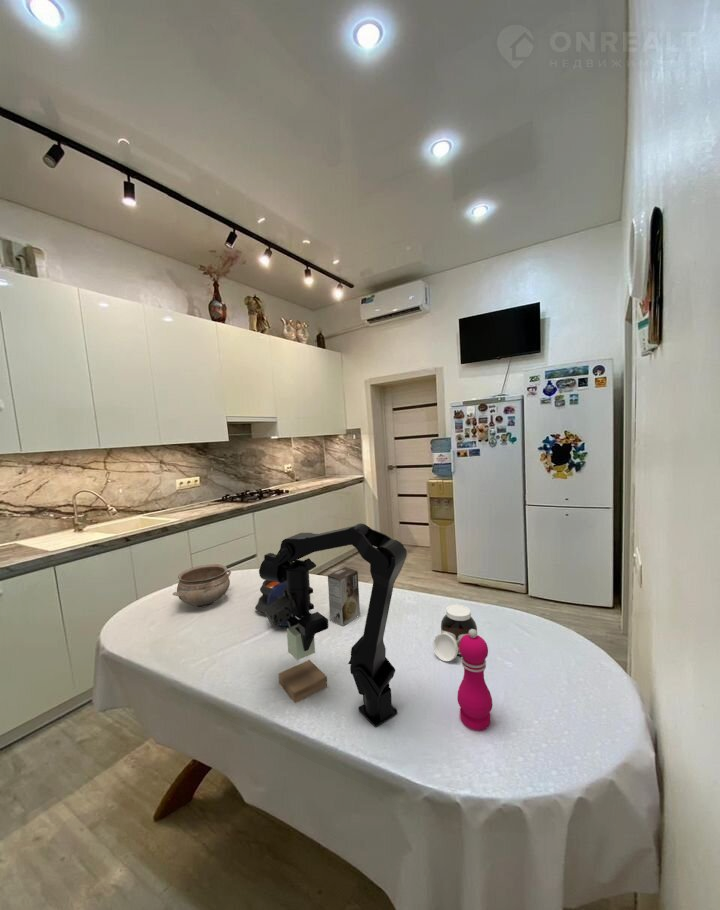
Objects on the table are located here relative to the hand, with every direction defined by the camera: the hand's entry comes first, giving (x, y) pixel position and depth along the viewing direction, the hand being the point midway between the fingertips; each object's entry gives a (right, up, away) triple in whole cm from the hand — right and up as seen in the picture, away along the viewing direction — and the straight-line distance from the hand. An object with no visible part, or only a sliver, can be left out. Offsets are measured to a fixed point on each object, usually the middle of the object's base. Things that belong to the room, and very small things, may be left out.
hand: (301, 645), depth 91 cm
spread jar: (+42, -8, +11) cm, 44 cm away
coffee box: (+10, -9, +33) cm, 36 cm away
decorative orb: (-9, -9, +32) cm, 35 cm away
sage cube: (0, -2, 0) cm, 2 cm away
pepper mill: (+40, -9, -13) cm, 43 cm away
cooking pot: (-46, -10, +50) cm, 68 cm away
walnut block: (0, -11, +1) cm, 11 cm away
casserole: (-15, -9, +48) cm, 51 cm away
